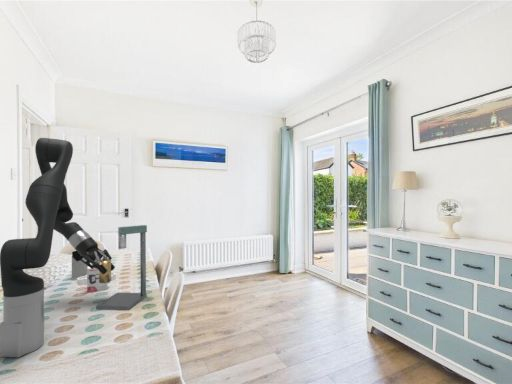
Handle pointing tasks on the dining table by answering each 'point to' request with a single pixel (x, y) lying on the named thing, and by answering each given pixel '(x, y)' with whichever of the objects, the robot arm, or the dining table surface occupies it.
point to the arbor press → (131, 299)
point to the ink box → (94, 281)
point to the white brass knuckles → (83, 279)
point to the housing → (107, 276)
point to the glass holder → (78, 266)
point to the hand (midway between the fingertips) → (109, 270)
